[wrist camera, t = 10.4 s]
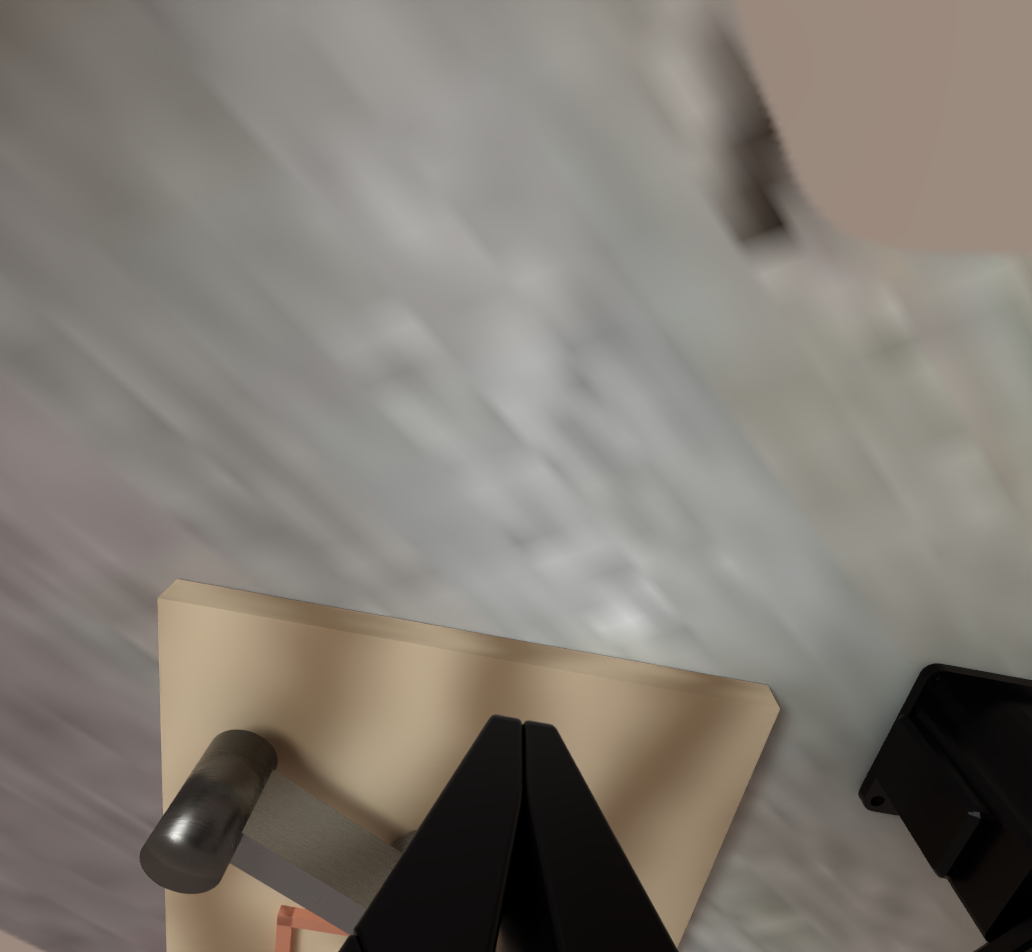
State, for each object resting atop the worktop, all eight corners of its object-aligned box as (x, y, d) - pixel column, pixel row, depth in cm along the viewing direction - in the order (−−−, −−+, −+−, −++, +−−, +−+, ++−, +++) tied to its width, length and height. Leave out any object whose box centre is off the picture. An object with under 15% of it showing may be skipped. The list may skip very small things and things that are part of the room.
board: (767, 685, 22) (780, 709, 21) (628, 1023, 29) (631, 1054, 28) (177, 579, 21) (157, 598, 20) (182, 951, 29) (167, 980, 28)
